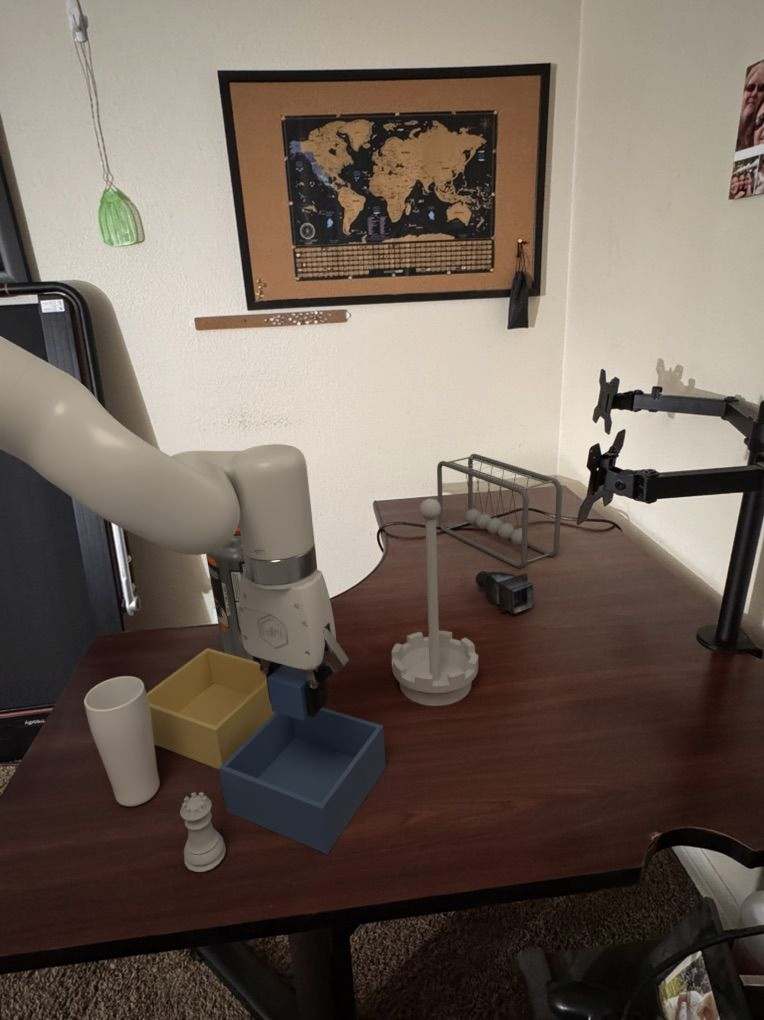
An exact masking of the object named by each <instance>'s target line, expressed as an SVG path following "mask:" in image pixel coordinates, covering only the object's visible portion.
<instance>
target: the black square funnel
mask: <svg viewBox="0 0 764 1020" xmlns="http://www.w3.org/2000/svg"><path fill="white" fill-rule="evenodd" d="M475 583H476V585H477V586H478V587H480V588H484V592H485V594H486V595H485V596H486V598H487V601H488V603H490V604H494V605H499V614H500V615H502V614H504V613H507V612H510V614H517V613H520V612H522V611H525V610H527V609H531V608H533V606H534V583H532V581H528V573H522V574H519V575H515V574H512V573H508V572H503V571H484V570H482V571H479V572H477V574H476V576H475Z"/></svg>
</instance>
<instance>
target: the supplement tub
mask: <svg viewBox="0 0 764 1020" xmlns="http://www.w3.org/2000/svg"><path fill="white" fill-rule="evenodd" d="M241 545H242V540H241V533H240V526H239V525H238V528H237V530H236V532H235V534H234V536H233V537H232V538H231V539H230V541H229V542H228V543H227V544H225V545H224V546H223V547H222V548H220V549H218V550H216V551H214V552H211V553H208V554H205V556H206V563H207V568H208V574H209V580H210V586H211V592H212V596H213V602H214V607H215V614H216V618H217V624H218V629H219V636H220V641H221V645H222V648H223V650H224V653H227V654H230V655H234V656H237V657H241V658H245V659H248V660H252V661H255V662H257V661H256V660H255V658H254V657H253V656H252V655H250V654H249V653H248V652H246V650H245V649H244V646H243V645H242V644H241V643H240V641H239V637H240V635H241V626H240V613H239V590H240V580H241V574H242V573H243V572H244V571H245V570H246V568H245V561H244V557H241V556H239V553H238V550H239V547H240V546H241Z"/></svg>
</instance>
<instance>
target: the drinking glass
mask: <svg viewBox="0 0 764 1020" xmlns="http://www.w3.org/2000/svg"><path fill="white" fill-rule="evenodd" d="M147 693H148V692H147V690H146V687H145V683H144V682H143V680H142V679H141V678H139V677H136V676H131V675H122V676H116V677H112V678H109V679H106V680H103V681H102V682H100V683H98V684H96V685H95V686H94V687H92V688H91V689H90V690H89V691H88V692H87V693H86V695H85V697H84V700H83V705H84V709H85V715H86V719H87V724H88V727H89V730H90V733H91V736H92V739H93V742H94V744H95V747H96V748H97V751H98V754H99V757H100V759H101V762H102V764H103V767H104V769H105V772H106V775H107V777H108V780H109V783H110V785H111V788H112V791H113V795H114V796H113V797H114V799H115V800H116V803H118V804H119V805H121V806H123V807H136V806H141V805H143V804H145V803H147V802H148V801H150V800H151V799H152V798H154V796H155V795H156V794H157V793H158V791H159V789H160V785H161V784H160V783H161V782H160V781H161V780H160V775H159V772H158V763H157V755H156V754H157V753H156V745H155V744H154V736H153V727H152V718H151V711H150V706H149V701H148V697H147Z"/></svg>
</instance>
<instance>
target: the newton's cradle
mask: <svg viewBox="0 0 764 1020" xmlns="http://www.w3.org/2000/svg"><path fill="white" fill-rule="evenodd" d="M464 460H467V465H462V464H461V463H457V462H459V461H464ZM474 461H476V462H477V463H474ZM479 464H480V468H478V469H474V465H479ZM483 464H484V465H487V466H485V469H486V468H488V466H489V468H491V470H490V472H489V473H488V472H487V473H486V472H484V471H481V470H482V469H484V467H482V465H483ZM443 467H446V468H448V469H451V470H453V471H456V472H459V473H462V474H465V477H466V484H467V511H466V513H465V516H464V518H465V521H466V522H463V523H459V524H456V525H452V526H449V527H446V525H445V524H444V511H443V504H444V503H443ZM493 468H496V469H499V470H497V471H493ZM501 471H502V477H497V476H496V475H493V473H498V472H501ZM505 471H506V472H509V473H511V476H512V475H514V480H513V481H510V480H507V479H504V478H506V477H508V476H509V477H510V474H508V475H504V473H505ZM517 475H518V476H522V477H524V478H522V479H517V480H516V476H517ZM474 478H476V484H477V488H476V494H475V498H477V497H479V501H480V510H481V511H480V510H478V509H476V504H477V499H475V501H474V499H473V498H474ZM526 479H527V481H526V486H524V485H521V484H518V483H516V482H519V481H522V480H526ZM529 479H531V480H534V481H536V482H541V483H536V484H534V485H533V484H532V485H530V486H528V485H529ZM480 480H482V481H485V482H487V485H488V488H487V489H488V490H487V495H486V501H485V508H484V512H483V506H482V499H481V493H480V486H479V483H480ZM436 482H437V483H436V484H437V501H438V502H439V504H440V506H441V512H440V514H439V516H438V517H437V522H438V526H439V528H440V529H441V531H442V532H444V533H446V534H448V535H450V536H452V537H454V538H456V539H458V540H460V541H462V542H464V543H466V544H468V545H470V546H471V547H474V548H476V549H478V550H480V551H482V552H485V553H486V554H488V555H490V556H492V557H494V558H497V559H498V560H501V561H502V562H504V563H507V564H508V565H510V566H512V567H514V568H517V569H524V568H525V567H526V565H527V564H528V563H531V562H534V561H537V560H539V559H542V558H545V557H547V556H548V557H550V558H554V557H556V556H557V555H558V554H559V551H560V542H561V523H562V522H561V520H562V504H563V503H562V502H563V501H562V500H563V487H562V484H561V483H560V481H559V480H558V479H556V478H555V477H552V476H548V475H545V474H541V473H539V472H535V471H532V470H530V469H526V468H522V467H520V466H516V465H512V464H509V463H506V462H503V461H500V460H497V459H494V458H490V457H487V456H483V455H481V454H477V453H472V454H470V455H469V456H466V457H461V458H458V459H454V460H449V461H446V460H441V461H439V462H438V463H437V466H436ZM550 483H551V484H552V485H554V487H555V489H556V491H555V493H556V494H555V495H556V496H555V516H554V535H553V536H554V537H553V550H552V551H551V550H549V549H547V548H544V547H542V546H539V545H537V544H535V543H532V542H530V541H529V534H528V532H529V508H530V507H529V506H530V504H529V503H530V500H529V495H528V493H527V491H528V490H529V489H533V488H537V487H540V486H543V485H547V484H550ZM491 484H492V485H495V486H498V487H499V495H498V502H497V507H496V514H495V515H494V510H493V503H492V497H491V496H492V495H491V490H490V486H491ZM502 488H504V489H506V490H510V491H511V497H510V505H509V510H508V514H507V515H508V516H507V517H508V518H507V521H506V517H505V509H504V503H503V497H502ZM514 492H515V493H518V494H520V496H521V498H522V513H521V521H520V527H519V522H518V515H517V508H516V502H515V496H514ZM478 495H479V496H478ZM488 498H489V499H490V505H491V512H492V513H491V514H492V517H491V515H489V514H488V513H486V512H487V505H488V500H489V499H488ZM500 501H501V508H502V514H503V521H504V522H503V521H502V520H501V519H500V518H497V517H498V511H499V505H500V504H499V503H500ZM512 501H513V506H514V513H515V518H516V519H515V520H516V526H517V528H516V529H515V527H514V526H513V524H511V523H509V520H510V514H511V507H512ZM467 524H469V525H472V526H473V525H476V527H477V528H478V529H480V530H487V532H488V533H489V534H491V535H498V537H500V539H503V540H505V541H507V540H510V541H511V542H512V544H514V545H515V546H518V547H520V546H521V550H520V551H521V553H520V554H521V555H520V559H521V560H520V562H518V561H517V560H514V559H512V558H511V557H508V556H506V555H503V554H502V553H500V552H497V551H495V550H494V549H491V548H489V547H488V546H485V545H483V544H482V543H479V542H477V541H475V540H474V539H471V538H469V537H467V536H464V535H462V534H460V533H458V532H457V531H454V530H452V529H454V528H458V527H461V526H464V525H467ZM528 548H530V549H532V550H533V551H536V552H538V553H541V554H543V555H540V556H537V557H534V558H531V559H528Z"/></svg>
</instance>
